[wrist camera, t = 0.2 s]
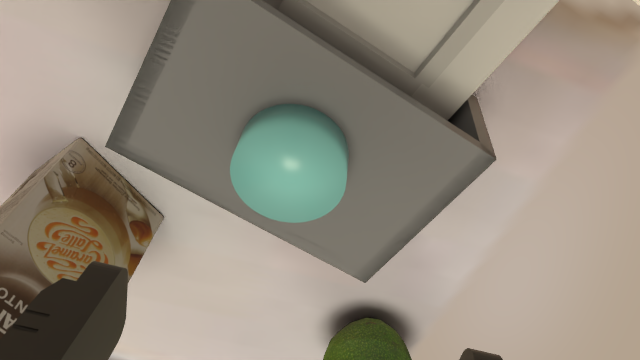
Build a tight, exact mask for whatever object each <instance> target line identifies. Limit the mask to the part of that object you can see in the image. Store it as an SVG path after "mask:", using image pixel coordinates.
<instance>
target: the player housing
mask: <svg viewBox="0 0 640 360" xmlns="http://www.w3.org/2000/svg"><path fill="white" fill-rule="evenodd" d="M280 104H299V105H304V106H308V107H311V108H314V109H316V110H318V111H320V112H322V113H324V114H325V115H327V116H328V117H330V118H331V119H332V120H333V121H334V122H335V123H336V124H337V125H338V126H339V128H340V129H341V131H342V132H343V134H344V136H345V138H346V141H347V144H348V150H349V159H348V170H347V181H346V188H345V192H344V195H343V197H342V199H341V200H340V202H339V203H338V204H337V206H336V207H335V208H334V209H333V210H331V211H330V212H329V213H327V214H326V215H324V216H322V217H320V218H317V219H315V220H311V221H307V222H300V223H288V222H281V221H277V220H273V219H270V218H267V217H265V216H263V215H261V214H259V213H257V212H256V211H254V210H253V209H251V208H250V207H249V206H248V205H246V204H245V203H244V202H243V200H242V199H241V198H240V197H239V195H238V194H237V192H236V191H235V189H234V187H233V184H232V181H231V176H230V164H231V159H232V156H233V154H234V151H235V149H236V147H237V144H238V142H239V139H240V137H241V135H242V132H243V130H244V128H245V126H246V125H247V123H248V122H249V121H250V119H251V118H253V117H254V116H255V115H256V114H257V113H259V112H260V111H262V110H264V109H266V108H269V107H272V106H275V105H280ZM105 147H107V148H109V149H111V150H113V151H115V152H117V153H118V154H120V155H122V156H124V157H126V158H128V159H130V160H132V161H134V162H136V163H138V164H139V165H141V166H143V167H145V168H147V169H149V170H151V171H153V172H155V173H157V174H158V175H160V176H162V177H164V178H166V179H168V180H170V181H172V182H174V183H176V184H178V185H179V186H181V187H183V188H185V189H187V190H189V191H191V192H193V193H195V194H197V195H198V196H200V197H202V198H204V199H206V200H208V201H210V202H212V203H214V204H216V205H218V206H219V207H221V208H223V209H225V210H227V211H229V212H231V213H233V214H235V215H237V216H238V217H240V218H242V219H244V220H246V221H248V222H250V223H252V224H254V225H256V226H258V227H259V228H261V229H263V230H265V231H267V232H269V233H271V234H273V235H275V236H277V237H278V238H280V239H282V240H284V241H286V242H288V243H290V244H292V245H294V246H296V247H298V248H299V249H301V250H303V251H305V252H307V253H309V254H311V255H313V256H315V257H317V258H318V259H320V260H322V261H324V262H326V263H328V264H330V265H332V266H334V267H336V268H338V269H339V270H341V271H343V272H345V273H347V274H349V275H351V276H353V277H355V278H357V279H358V280H360V281H362V282H364V283H366V282H367V281H368V280H369V279H370V278H371V277H372V276H373V275H374V274H375V273H376V272H377V271H379V270H380V269H381V268H382V267H383V266H384V265H385V264H386V263H387V262H388V261H389V260H390V259H391V258H392V257H393V256H394V255H396V254H397V253H398V252H399V251H400V250H401V249H402V248H403V247H404V246H405V245H406V244H407V243H408V242H409V241H410V240H411V239H413V238H414V237H415V236H416V235H417V234H418V233H419V232H420V231H421V230H422V229H423V228H424V227H425V226H426V225H427V224H428V223H429V222H431V221H432V220H433V219H434V218H435V217H436V216H437V215H438V214H439V213H440V212H441V211H442V210H443V209H444V208H445V207H446V206H448V205H449V204H450V203H451V202H452V201H453V200H454V199H455V198H456V197H457V196H458V195H459V194H460V193H461V192H462V191H463V190H465V189H466V188H467V187H468V186H469V185H470V184H471V183H472V182H473V181H474V180H475V179H476V178H477V177H478V176H479V175H480V174H482V173H483V172H484V171H485V170H486V169H487V168H488V167H489V166H490V165H491V164H492V163H493V162H494V161H495V160H496V156H495V153H494V150H493V147H492V144H491V140H490V137H489V134H488V131H487V128H486V125H485V122H484V118H483V115H482V112H481V109H480V106H479V103H478V99H477V98H476V97H474V96H473V95H471V96H470V97H469V98H468V99H467V100H466V101H465V102H464V103H463V104H462V106H461V107H460V108H459V109H458V110H457V111H456V112H455V113H454V114H453V115H452V116H451V117H450V118H449V119H448V121H447V120H445V119H444V118H442V117H441V116H439V115H438V114H436V113H435V112H433V111H432V110H430V109H428V108H427V107H425V106H424V105H422V104H421V103H419V102H418V101H416V100H415V99H413V98H412V97H410V96H408V95H407V94H405V93H404V92H402V91H401V90H399V89H398V88H396V87H395V86H393V85H392V84H390V83H389V82H387V81H385V80H384V79H382V78H381V77H379V76H378V75H376V74H375V73H373V72H372V71H370V70H369V69H367V68H365V67H364V66H362V65H361V64H359V63H358V62H356V61H355V60H353V59H352V58H350V57H349V56H347V55H346V54H344V53H342V52H341V51H339V50H338V49H336V48H335V47H333V46H332V45H330V44H329V43H327V42H326V41H324V40H323V39H321V38H319V37H318V36H316V35H315V34H313V33H312V32H310V31H309V30H307V29H306V28H304V27H303V26H301V25H299V24H298V23H296V22H295V21H293V20H292V19H290V18H289V17H287V16H286V15H284V14H283V13H281V12H280V11H278V10H276V9H275V8H273V7H272V6H270V5H269V4H267V3H266V2H264V1H263V0H171V2H170V4H169V6H168V8H167V11H166V13H165V15H164V17H163V19H162V22H161V24H160V26H159V28H158V31H157V33H156V35H155V37H154V39H153V42H152V44H151V46H150V48H149V50H148V53H147V55H146V57H145V59H144V62H143V64H142V66H141V68H140V70H139V73H138V75H137V77H136V79H135V81H134V84H133V86H132V88H131V90H130V93H129V95H128V97H127V99H126V101H125V104H124V106H123V108H122V110H121V112H120V115H119V117H118V119H117V121H116V124H115V126H114V128H113V130H112V132H111V135H110V137H109V139H108V141H107V143H106V146H105Z"/></svg>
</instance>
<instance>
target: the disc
mask: <svg viewBox="0 0 640 360" xmlns="http://www.w3.org/2000/svg"><path fill="white" fill-rule="evenodd" d="M348 159H349V150H348V144H347V141H346V138H345V136H344V134H343V132H342V131H341V129H340V128H339V126H338V125H337V124H336V123H335V122H334V121H333V120H332V119H331V118H330V117H328V116H327V115H325V114H324V113H322V112H320V111H318V110H316V109H314V108H311V107H308V106H304V105H299V104H280V105H275V106H272V107H269V108H266V109H264V110H262V111H260V112H259V113H257V114H256V115H255V116H254V117H253V118H251V119H250V121H249V122H248V123H247V125H246V126H245V128H244V130H243V132H242V135H241V137H240V139H239V142H238V144H237V147H236V149H235V151H234V154H233V156H232V159H231V164H230V176H231V181H232V184H233V187H234V189H235V191H236V192H237V194H238V195H239V197H240V198H241V199H242V200H243V202H244V203H245V204H246V205H248V206H249V207H250V208H251V209H253V210H254V211H256V212H257V213H259V214H261V215H263V216H265V217H267V218H270V219H273V220H277V221H281V222H288V223H300V222H307V221H311V220H315V219H317V218H320V217H322V216H324V215H326V214H327V213H329V212H330V211H331V210H333V209H334V208H335V207H336V206H337V204H338V203H339V202H340V200H341V199H342V197H343V195H344V192H345V188H346V181H347V170H348Z"/></svg>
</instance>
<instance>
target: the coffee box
mask: <svg viewBox="0 0 640 360" xmlns="http://www.w3.org/2000/svg"><path fill="white" fill-rule="evenodd" d="M162 221H163V216H162V215H161V214H160V213H159V212H158V211H157V210H156V209H155V208H154V207H153V206H152V205H150V204H149V203H148V202H147V201H146V200H145V199H144V198H143V197H142V196H141V195H140V194H139V193H138V192H137V191H136V190H135V189H134V188H133V187H132V186H131V185H130V184H129V183H128V182H127V181H126V180H125V179H124V178H123V177H121V176H120V175H119V174H118V173H117V172H116V171H115V170H114V169H113V168H112V167H111V166H110V165H109V164H108V163H107V162H106V161H105V160H104V159H103V158H102V157H101V156H100V155H99V154H98V153H97V152H96V151H95V150H94V149H93V148H91V147H90V146H89V145H88V144H87V143H86V142H85V141H84V140H83V139H81V138H79V139H77V140H76V141H74V142H73V143H72V144H70V145H69V146H68V147H66V148H65V149H64V150H62V151H61V152H60V153H58V154H57V155H56V156H54V157H53V158H52V159H50V160H49V161H48V162H46V163H45V164H44V165H42V166H41V167H40V168H38V169H37V170H36V171H35V172H33V173H32V174H31V175H30V176H29V177H28V178H27V180H26V181H25V182H24V183H23V184H22V185H21V186H20V187H19V188H18V189H17V190H16V191H15V192H14V193H13V194H12V195H11V196H10V197H9V198H8V199H7V200H6V201H5V202H4V203H3V204H2V205H1V206H0V339H1V338H2V337H3V335H4V334H5V333H6V332H7V331H8V329H9V328H12V327H13V323H14V322H15V321H16V320H17V319H18V318H19V316H20V315H21V314H22V313H24V312H25V310H26V308H27V307H28V306H29V304H30V303H31V302H32V301H33V300H34V299H35V297H36V296H37V295H38V294H39V293H40V291H42V290H43V289H45V288H47V287H48V286H50V285H52V284H53V283H55V282H57V281H58V280H60V279H62V278H65V279H70V280H74V281H77V279H78V278H79V277H80V276H81V274H82V273H83V272H84V270H85V269H86V268H87V266H88V265H89V264H90V263H91V262H93V261H97V262H101V263H106V264H110V265H114V266H119V267H123V268H126V269H127V271H128V282H129V280H130V279H131V277H132V275H133V273H134V271H135V269H136V268H137V266H138V264H139V262H140V260H141V258H142V257H143V255H144V253H145V251H146V249H147V247H148V246H149V244H150V242H151V240H152V238H153V236H154V234H155V233H156V231H157V229H158V227H159V225H160V224H161V222H162Z"/></svg>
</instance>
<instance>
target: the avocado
mask: <svg viewBox="0 0 640 360" xmlns="http://www.w3.org/2000/svg"><path fill="white" fill-rule="evenodd" d="M323 360H412V359H411V357H410V354H409V352H408V349H407V347H406V345H405V343H404V341H403V340H402V338H401V337H400V336H399V335H398V333H397V332H396V331H395V330H394V329H393V328H391V327H390V326H388V325H387V324H386V323H384V322H383V321H381V320H380V319H372V318H363V319H360V320H357V321H354V322H351V323H349V324H348V325H346V326H345V327H344V328H343V329H342V330H340V331H339V332H338V333H337V334H336V335H335V336H334V337H333V338H332V339H331V341H330V343H329V345H328V348H327V350H326V352H325V355H324V358H323Z"/></svg>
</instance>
